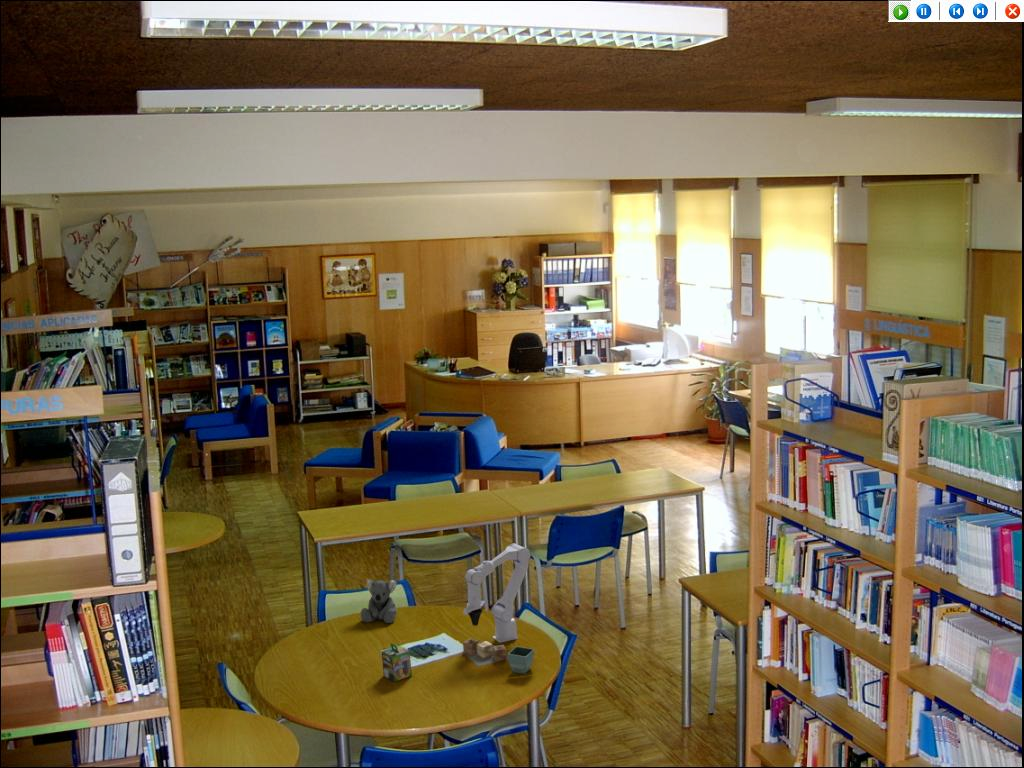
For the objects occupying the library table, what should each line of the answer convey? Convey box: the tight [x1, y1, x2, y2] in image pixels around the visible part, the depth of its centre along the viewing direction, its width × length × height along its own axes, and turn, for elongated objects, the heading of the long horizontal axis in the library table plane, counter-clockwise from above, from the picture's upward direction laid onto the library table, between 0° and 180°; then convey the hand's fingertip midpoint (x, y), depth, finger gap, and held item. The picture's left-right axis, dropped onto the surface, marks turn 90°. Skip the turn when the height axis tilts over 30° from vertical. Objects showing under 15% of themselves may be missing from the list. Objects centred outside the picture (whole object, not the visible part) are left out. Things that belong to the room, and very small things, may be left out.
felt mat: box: [462, 644, 509, 667], centre depth 482 cm, size 15×18×1 cm
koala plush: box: [360, 578, 397, 624], centre depth 532 cm, size 17×18×20 cm
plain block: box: [477, 640, 493, 658], centre depth 482 cm, size 5×5×5 cm
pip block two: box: [462, 638, 480, 655], centre depth 486 cm, size 5×5×5 cm
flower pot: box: [507, 646, 535, 674], centre depth 464 cm, size 9×9×9 cm
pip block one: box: [493, 644, 507, 662], centre depth 477 cm, size 5×5×5 cm
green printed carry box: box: [381, 642, 413, 683], centre depth 464 cm, size 9×9×15 cm
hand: (475, 625), depth 491 cm, fingers closed
